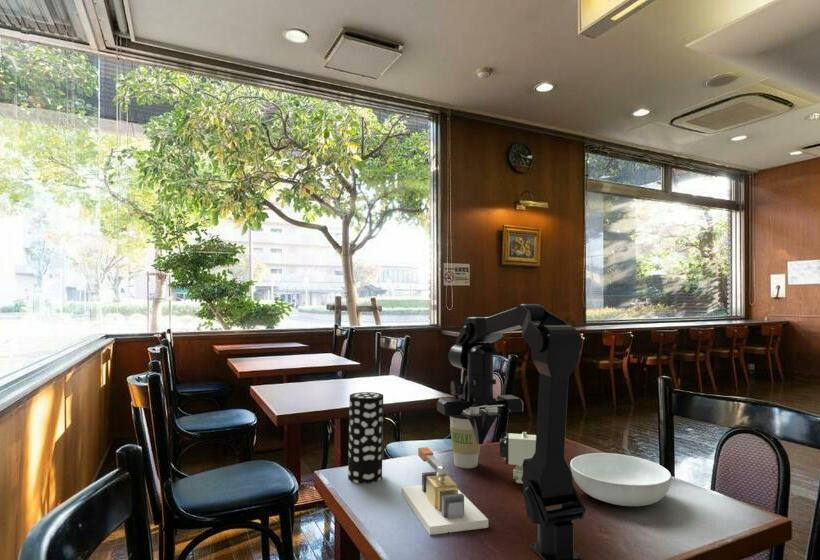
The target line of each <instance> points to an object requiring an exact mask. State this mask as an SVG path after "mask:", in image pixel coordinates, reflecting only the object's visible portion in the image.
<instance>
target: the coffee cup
mask: <svg viewBox="0 0 820 560" xmlns="http://www.w3.org/2000/svg"><path fill="white" fill-rule="evenodd" d="M472 406H474V405H472ZM449 420H450V421H449V423H450V425H449V430H450V437H451V439H450V440H451V446H452V447H451V449H452V452H453V463H454V465H455V466H456V467H458V468H462V469H473V468H476V467H477V466H478V463H479V455H480V452H481V445H482V444H480V445H479V444H478V443H477V441H476V437H475V434H474V431H473V428H472V425H471V423H470V421H469V419H468V417H467V416H465V415H463V414H462V413H461V414H460V415H456V416H449Z"/></svg>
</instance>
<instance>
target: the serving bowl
mask: <svg viewBox="0 0 820 560" xmlns="http://www.w3.org/2000/svg"><path fill="white" fill-rule="evenodd" d="M569 467H570V469H571V471H572V478H573V479H574V480H573V481H575V483H576V485H577V486H578V487H579V488H580V489H581V490H582V491H583V492H584V493H586V494H587V495H589V496H590V497H592V498H593V499H596V500H599V501H602V502H604V503H607V504H611V505H616V506H622V507H623V506H624V507H641V506H642V507H644V506H648V505H652V504H655V503H658V502H659V501H660V500H662V499H663V498H664V497H665V496H666V495H667V493H668V492H669V489H670V487H671V481H672V474H671V472H670V471H669V469H667V468H665V467H664V466H663V465H660V464H659V463H656V462H654V461H651V460H648V459H645V458H642V457H641V458H640V457H638V456H632V455H628V454H621V453H610V452H594V453H585V454H581V455H577V456H575V457H574V458H572V459H571V460H570V464H569Z"/></svg>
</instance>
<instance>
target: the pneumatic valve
mask: <svg viewBox="0 0 820 560" xmlns="http://www.w3.org/2000/svg"><path fill="white" fill-rule="evenodd" d="M535 448H536V434H527V431H522V433H511V432H510V433H509V432H506V433H505V436H504V438H499V458H503V459H504V461H505V465H514V466H515V468H513V469H512V474H513V475H512V478H513V480H515V483H516V484H519V485H520V484H521V485H523V481H521V479H522V475H523V461H524V459H528V458H532V457H533V455H534V454H535Z"/></svg>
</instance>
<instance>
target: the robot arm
mask: <svg viewBox="0 0 820 560" xmlns="http://www.w3.org/2000/svg"><path fill="white" fill-rule="evenodd" d="M520 329H521V337H522V338H523V340H524V341H525V342H526V344H528V345H529V347H530V356H531V357H530V358H531V361H532V362H533V364H534V366H535V368H536V370H537V372H538V375H539V376H538V394H537V395H538V397H537V411H536V412H537V414H536V433H535V435H536V448H535V454H534V455H533V457H532V458H528V459H524V461H523V475H522V479H521V481H523V484H522V493H523V498H524V499H523V500H524V504H525V510H526V515H527V517H528V518H530V519H531V523H533V524H536V525H537V526H536V527H537V529H536V533H537V534H536V536H537V537H536V541H537V542H533V543H530V544H529V548H530V549H531V550H532V551H533V552H535V553H536V555H537V556H538V557H540V558H541V560H582V555H580V553H578V552H577V551H576V550H575V549H574V547H575V546H574V539H575V538H574V531H575V530H574V529H575V528H574V525H575V524H574V523H573V521H576V520H577V521H578V520H583V519H584V517H585V513H586V507H585V505H584V503H583V501H582V500H581V498H580V495H579V493H578V492H577V489H576V488H575V486H574V480H573V479H574V478H573V475H572V471H571V467H570V465H569V464H568V462H567V460H566V458H565V449H566V448H565V446H566V433H567V432H566V429H567V427H566V426H567V412H568V409H567V408H568V394H569V393H568V391H569V390H568V389H569V377H570V375H571V373H572V372H573V371H574V369H575V367H576V366H577V364H578V363H579V359H580V355H581V349H582V344H583V343H582V342H583V341H582V336H581V334H580V333H579V332H578V330H577V329H576V328H575V327H574V326H573V325H570V324H569V323H568V322H567V321H566V320H565V319H563V318H562V317H559V316H557V315H555V314H554V313H552V312H550V311H549V310H548V309H547V308H546V307H545V306H544V305H541V304H539V303H522V304H519V305H517V306H516V307H513V308H511V309H507V310H505V311H502V312H499V313H497V314H494V315H491V316H472V317H471V316H470V317H469V316H468V317H466V319H465V320H464V323H463V325H462V327H461V330H460V332H459V334H458V336H457V338H456V339H455V344H453V346H451V348H450V349H449V352H448V353H447V355H448V357H447V358H448V360H449V361H448V362H450V364H451V365H452V366H453V367H456V368H458V369H461V370H466V371H467V375H466V376H465V379H464V383H461V382H462V381H461V380H452V381H451V382H450V394H451V396H458V398H456V397H439V398H438V400H437V402H436V410H437V412H439V413H440V414H442V415H443V416H447V417H450V416H456V415H460V414H461V413H462V414H463V415H465V416H467V417H468V419H469V421H470V423H471V425H472V428H473V431H474V434H475V437H476V441H477V443H478V444H479V445H480V444H481V445H483V444H484V442H485V440H486V438H487V435H488V433H489V431H490V429H491V428H492V426H493V424H494V423H495V421H496V419H497V418H500V417H501V414H500V413H499V412H498V409H506V408H507V410H508V411H509V412H510V413H523V412H524V402H523V400H522V398H520V397H518V396H515V395H513V394H504V395H503V394H499V395H497V396H496V397H494V385H496V384H497V380H496V378H494V362H495V361H494V356H496V355H499V350H498V349H497V348H496V347H495V346H494V344H493V343H495V342H496V341H499V340H500V339H502V336H503V335H504V334H506V333H510V332H514V331H516V330H517V331H518V330H520ZM472 405H474V406H472ZM481 445H480V446H481ZM556 505H560V506H556ZM551 506H553V507H551ZM546 507H549V508H546Z"/></svg>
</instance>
